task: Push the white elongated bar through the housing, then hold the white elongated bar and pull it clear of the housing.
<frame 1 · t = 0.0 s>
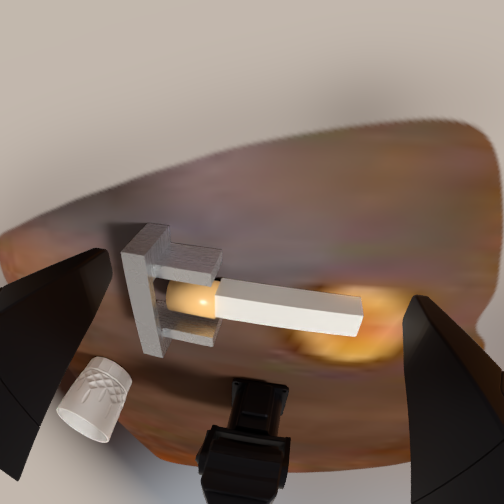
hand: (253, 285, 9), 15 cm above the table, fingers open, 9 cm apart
housing: (187, 282, 28), on the table
white cup: (112, 370, 40), on the table
white elongated bar: (267, 295, 28), on the table
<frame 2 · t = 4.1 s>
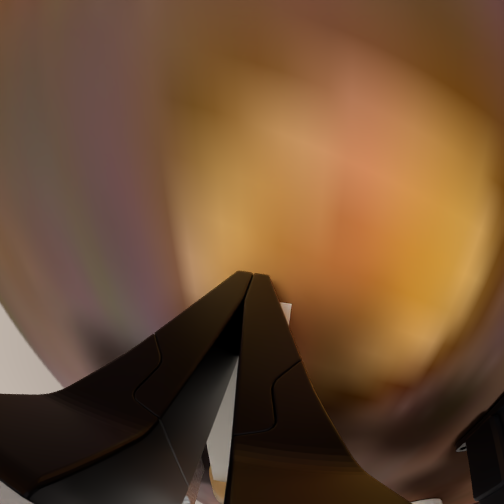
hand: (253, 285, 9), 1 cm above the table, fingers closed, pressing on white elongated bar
housing: (242, 463, 18), on the table
white elongated bar: (244, 420, 14), on the table, touching gripper
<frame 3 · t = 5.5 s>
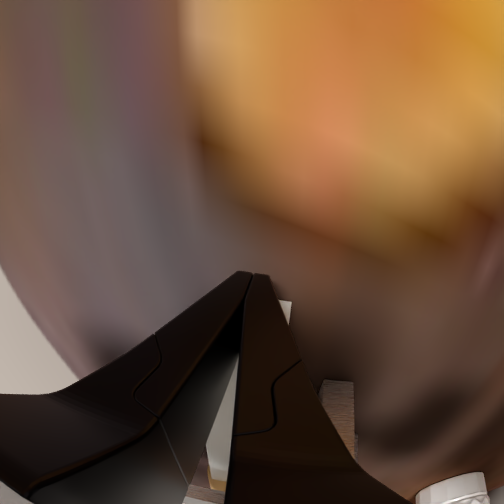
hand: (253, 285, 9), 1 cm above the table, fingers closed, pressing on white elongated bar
housing: (249, 410, 14), on the table
white cup: (450, 483, 18), on the table
white elongated bar: (243, 419, 14), on the table, touching gripper
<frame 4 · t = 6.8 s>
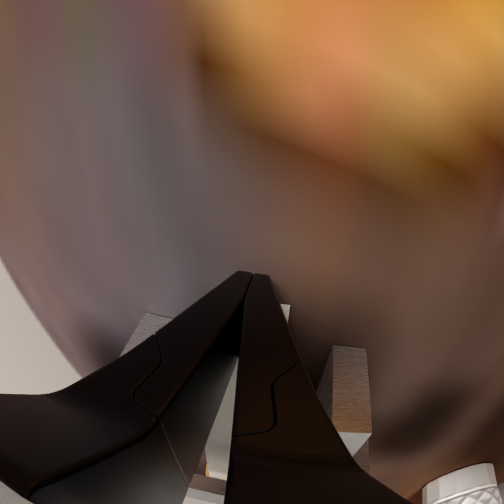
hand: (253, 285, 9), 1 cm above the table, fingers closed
housing: (247, 386, 12), on the table
white cup: (458, 476, 17), on the table
white elongated bar: (241, 419, 14), on the table
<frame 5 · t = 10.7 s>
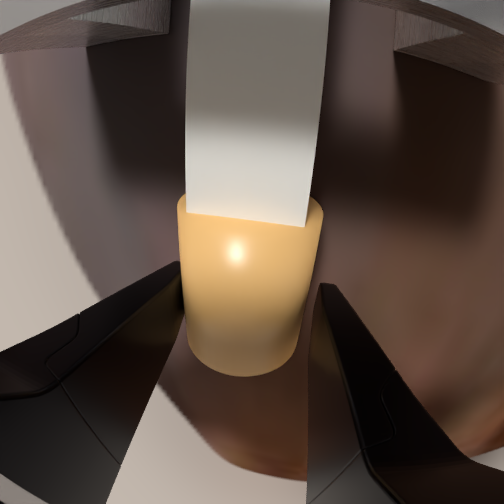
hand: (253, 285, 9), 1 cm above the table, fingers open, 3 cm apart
white elongated bar: (272, 30, 6), on the table, touching gripper
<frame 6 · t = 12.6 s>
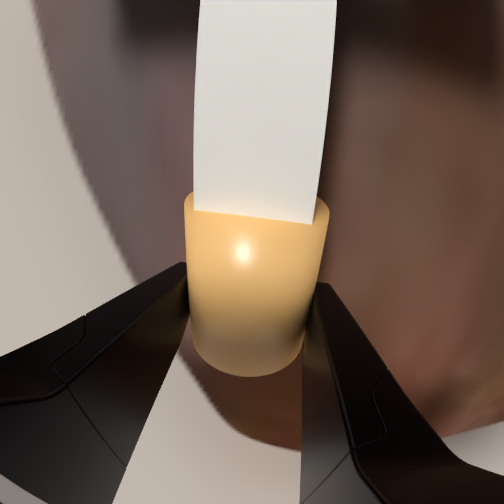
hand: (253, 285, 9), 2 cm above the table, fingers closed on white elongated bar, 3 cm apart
white elongated bar: (277, 32, 6), point 1 cm above the table, touching gripper
when the fingers open (2 cm above the table, at t = 14.5 s): white elongated bar stays where it is, on the table.
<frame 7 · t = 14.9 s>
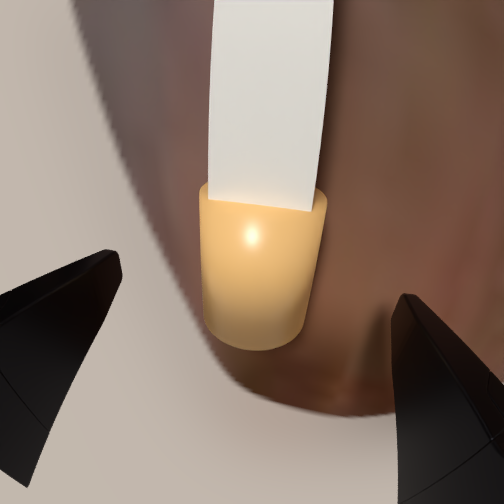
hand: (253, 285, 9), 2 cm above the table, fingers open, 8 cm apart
white elongated bar: (281, 40, 7), on the table
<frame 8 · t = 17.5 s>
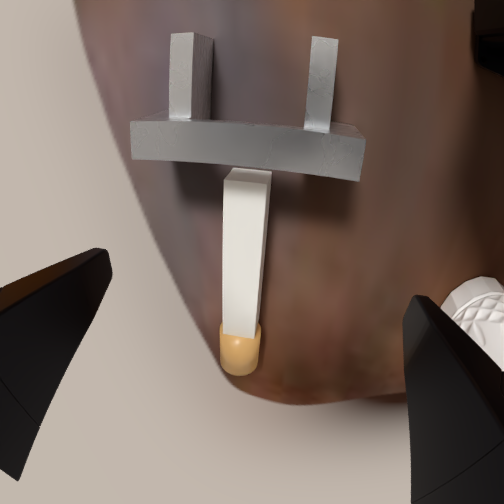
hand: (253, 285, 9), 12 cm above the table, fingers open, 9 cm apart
housing: (258, 92, 17), on the table
white cup: (471, 306, 22), on the table
white elongated bar: (246, 275, 23), on the table
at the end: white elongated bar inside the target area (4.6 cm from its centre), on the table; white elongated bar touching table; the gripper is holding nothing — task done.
